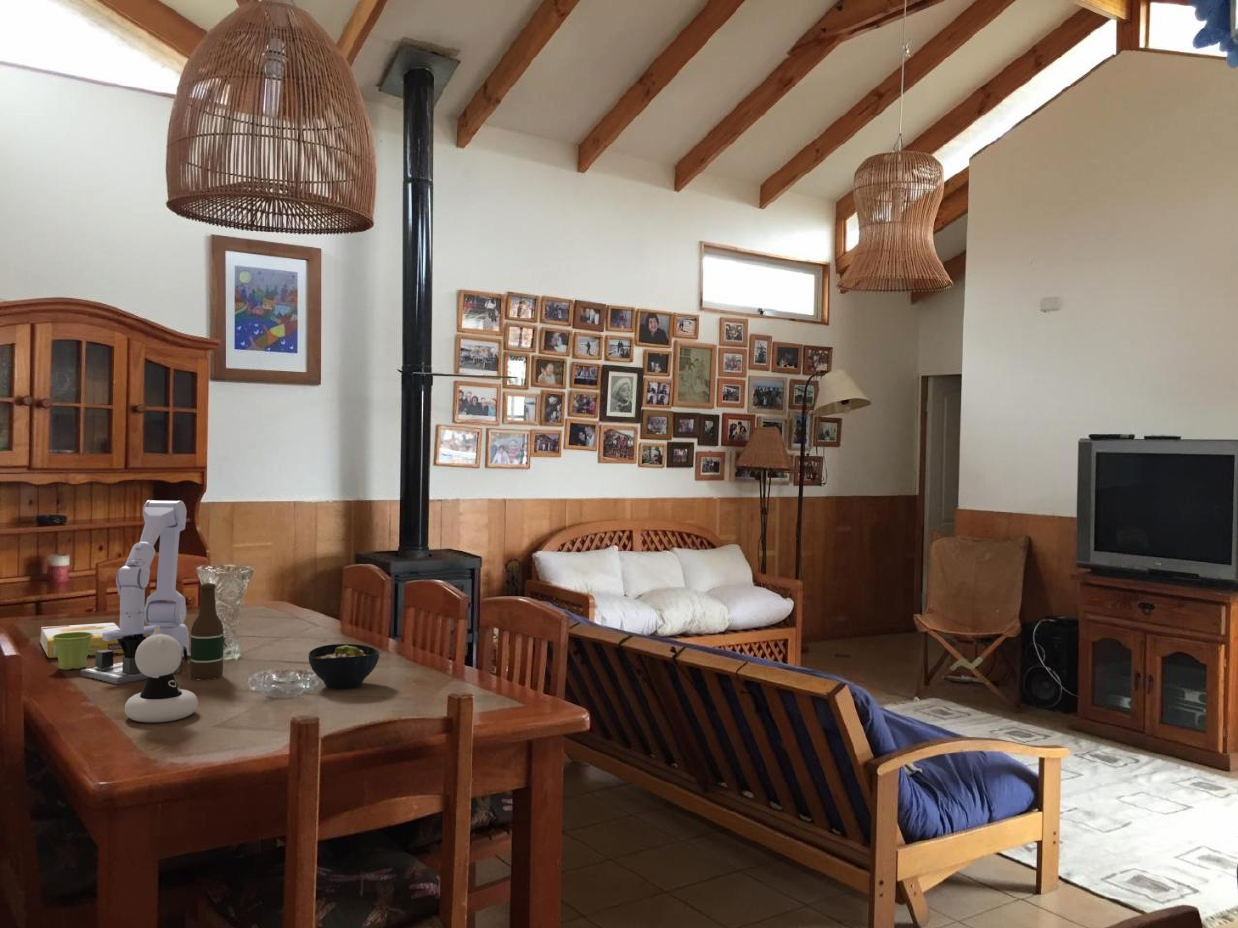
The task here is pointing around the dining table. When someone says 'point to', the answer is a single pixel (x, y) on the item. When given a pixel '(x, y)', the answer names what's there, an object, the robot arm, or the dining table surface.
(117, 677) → the panel
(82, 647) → the plant pot
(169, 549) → the robot arm
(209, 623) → the beer bottle
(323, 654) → the bowl
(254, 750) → the dining table surface
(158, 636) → the decorative figurine
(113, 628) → the cereal box
